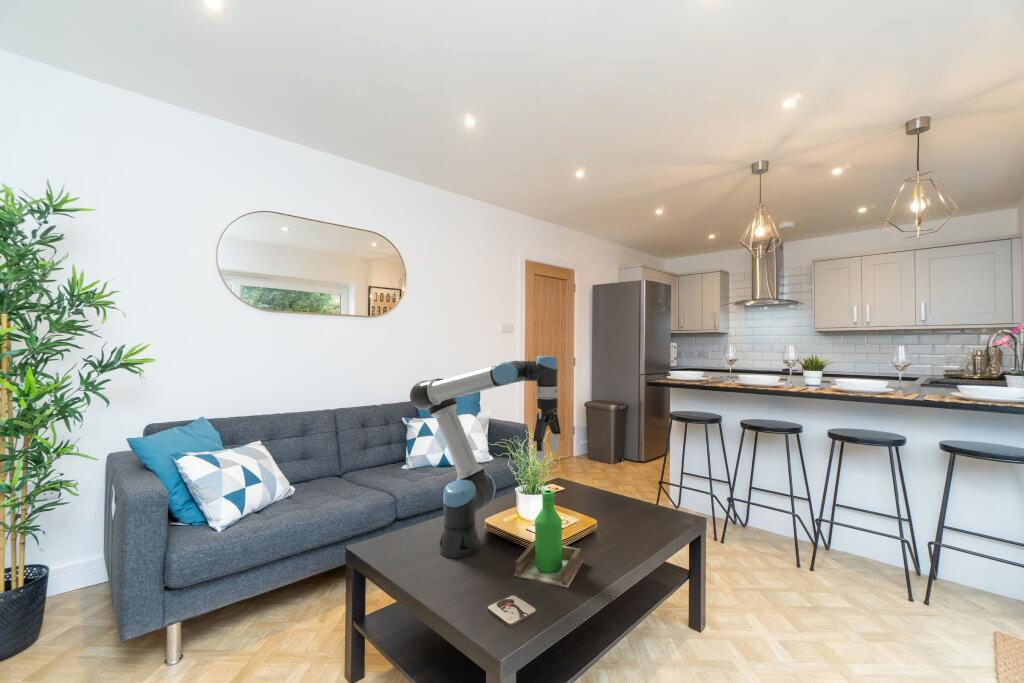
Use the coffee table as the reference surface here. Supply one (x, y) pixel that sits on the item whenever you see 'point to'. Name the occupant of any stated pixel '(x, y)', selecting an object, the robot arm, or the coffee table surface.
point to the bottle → (548, 536)
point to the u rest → (560, 577)
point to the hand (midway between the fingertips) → (547, 455)
